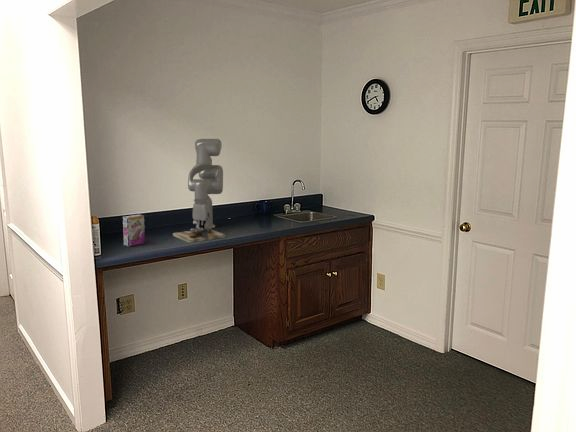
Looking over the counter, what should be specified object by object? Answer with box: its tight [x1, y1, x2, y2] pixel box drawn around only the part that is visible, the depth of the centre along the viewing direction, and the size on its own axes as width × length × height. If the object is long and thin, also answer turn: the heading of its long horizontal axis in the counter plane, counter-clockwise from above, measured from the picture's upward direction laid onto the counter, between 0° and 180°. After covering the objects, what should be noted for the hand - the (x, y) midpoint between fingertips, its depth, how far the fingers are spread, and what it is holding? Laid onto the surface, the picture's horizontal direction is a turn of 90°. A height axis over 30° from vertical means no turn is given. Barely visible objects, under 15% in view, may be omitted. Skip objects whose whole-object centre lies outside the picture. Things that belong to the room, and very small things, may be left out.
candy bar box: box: [122, 214, 146, 247], centre depth 276 cm, size 11×5×16 cm, turn 141°
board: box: [172, 229, 227, 243], centre depth 298 cm, size 24×22×2 cm
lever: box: [189, 227, 212, 238], centre depth 294 cm, size 18×4×5 cm, turn 154°
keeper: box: [195, 227, 208, 238], centre depth 291 cm, size 4×9×5 cm, turn 37°
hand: (201, 230), depth 302 cm, fingers closed
